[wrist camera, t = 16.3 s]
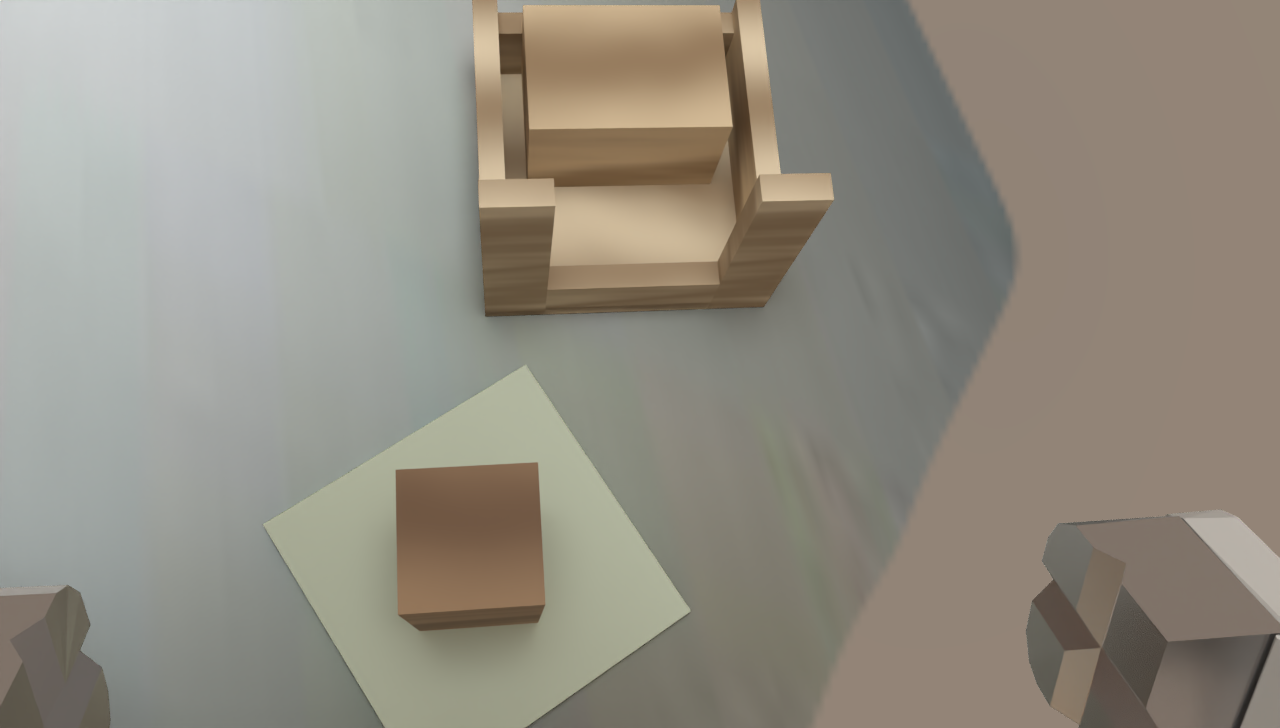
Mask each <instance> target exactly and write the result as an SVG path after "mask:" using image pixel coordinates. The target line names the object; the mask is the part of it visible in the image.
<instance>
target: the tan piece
mask: <svg viewBox="0 0 1280 728" xmlns="http://www.w3.org/2000/svg"><path fill="white" fill-rule="evenodd" d="M472 5H473V31H474V57H475V82H476V108H477V134H478V159H479V180H478V192H479V214H480V232H481V249H482V266H483V283H484V300H485V316H511V315H540V314H569V313H598V312H627V311H655V310H684V309H713V308H742V307H764V306H765V304H766V303H767V301H768V300H769V298H770V297H771V295H772V293H773V292H774V290H775V289H776V287H777V286H778V284H779V283H780V281H781V280H782V278H783V277H784V275H785V274H786V272H787V271H788V269H789V268H790V266H791V265H792V263H793V262H794V260H795V258H796V257H797V255H798V254H799V252H800V251H801V249H802V248H803V246H804V245H805V243H806V242H807V240H808V239H809V237H810V236H811V234H812V233H813V231H814V230H815V228H816V227H817V225H818V223H819V222H820V220H821V219H822V217H823V216H824V214H825V213H826V211H827V210H828V208H829V207H830V205H831V204H832V202H833V201H834V196H833V188H832V181H831V173H810V174H781V173H780V164H779V156H778V148H777V139H776V131H775V123H774V114H773V106H772V98H771V89H770V81H769V73H768V65H767V56H766V48H765V40H764V31H763V23H762V15H761V6H760V0H736V1H735V4H734V8H733V11H732V13H720V5H523V13H498V11H497V0H472Z"/></svg>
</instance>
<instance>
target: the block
mask: <svg viewBox="0 0 1280 728" xmlns="http://www.w3.org/2000/svg"><path fill="white" fill-rule="evenodd" d="M395 471H396V534H397V598H398V615H399V616H400V617H401V618H403V619H404V620H405V621H407V622H408V623H409V624H411V625H412V626H413V627H415V628H416V629H418V630H419V631H430V630H444V629H458V628H472V627H486V626H500V625H514V624H528V623H538V621H539V619H540V617H541V614H542V612H543V609H544V607H545V587H544V568H543V548H542V529H541V510H540V490H539V471H538V462H533V463H514V464H495V465H476V466H457V467H438V468H419V469H400V470H395Z"/></svg>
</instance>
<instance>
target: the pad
mask: <svg viewBox="0 0 1280 728" xmlns="http://www.w3.org/2000/svg"><path fill="white" fill-rule="evenodd" d="M533 462H538V471H539V490H540V510H541V529H542V548H543V568H544V587H545V607H544V609H543V612H542V614H541V617H540V619H539V621H538V623H528V624H514V625H500V626H486V627H472V628H458V629H444V630H430V631H419V630H418V629H416V628H415V627H413V626H412V625H411V624H409V623H408V622H407V621H405V620H404V619H403V618H401V617H400V616H399V615H398V598H397V534H396V471H395V470H400V469H419V468H438V467H457V466H476V465H495V464H514V463H533ZM263 526H264V527H265V529H266V531H267V532H268V534H269V536H270V537H271V539H272V541H273V542H274V544H275V546H276V547H277V549H278V551H279V552H280V554H281V556H282V557H283V559H284V561H285V562H286V564H287V566H288V567H289V569H290V571H291V572H292V574H293V576H294V577H295V579H296V581H297V582H298V584H299V586H300V587H301V589H302V591H303V592H304V594H305V596H306V597H307V599H308V601H309V602H310V604H311V606H312V607H313V609H314V611H315V612H316V614H317V616H318V617H319V619H320V621H321V622H322V624H323V626H324V627H325V629H326V631H327V632H328V634H329V636H330V637H331V639H332V641H333V642H334V644H335V646H336V647H337V649H338V651H339V652H340V654H341V656H342V657H343V659H344V660H345V662H346V664H347V665H348V667H349V669H350V670H351V672H352V674H353V675H354V677H355V679H356V680H357V682H358V684H359V685H360V687H361V689H362V690H363V692H364V694H365V695H366V697H367V699H368V700H369V702H370V704H371V705H372V707H373V709H374V710H375V712H376V714H377V715H378V717H379V719H380V720H381V722H382V724H383V725H384V727H385V728H526V727H527V726H528V725H530V724H531V723H533V722H534V721H535V720H537V719H538V718H540V717H541V716H543V715H544V714H545V713H547V712H548V711H550V710H551V709H553V708H554V707H555V706H557V705H558V704H560V703H561V702H562V701H564V700H565V699H567V698H568V697H570V696H571V695H572V694H574V693H575V692H577V691H578V690H580V689H581V688H582V687H584V686H585V685H587V684H588V683H590V682H591V681H592V680H594V679H595V678H597V677H598V676H599V675H601V674H602V673H604V672H605V671H607V670H608V669H609V668H611V667H612V666H614V665H615V664H617V663H618V662H619V661H621V660H622V659H624V658H625V657H626V656H628V655H629V654H631V653H632V652H634V651H635V650H636V649H638V648H639V647H641V646H642V645H644V644H645V643H646V642H648V641H649V640H651V639H652V638H653V637H655V636H656V635H658V634H659V633H661V632H662V631H663V630H665V629H666V628H668V627H669V626H671V625H672V624H673V623H675V622H676V621H678V620H679V619H680V618H682V617H683V616H685V615H686V614H688V613H689V612H690V611H691V610H690V609H689V607H688V606H687V604H686V603H685V602H684V600H683V599H682V597H681V596H680V594H679V593H678V591H677V590H676V588H675V587H674V585H673V584H672V582H671V581H670V579H669V578H668V576H667V575H666V573H665V572H664V570H663V569H662V567H661V566H660V564H659V563H658V561H657V560H656V558H655V557H654V555H653V554H652V552H651V551H650V549H649V548H648V546H647V545H646V543H645V542H644V540H643V539H642V537H641V536H640V534H639V533H638V531H637V530H636V528H635V527H634V525H633V524H632V522H631V521H630V519H629V518H628V516H627V515H626V513H625V512H624V510H623V509H622V508H621V506H620V505H619V503H618V502H617V500H616V499H615V497H614V496H613V494H612V493H611V491H610V490H609V488H608V487H607V485H606V484H605V482H604V481H603V479H602V478H601V476H600V475H599V473H598V472H597V470H596V469H595V467H594V466H593V464H592V463H591V461H590V460H589V458H588V457H587V455H586V454H585V452H584V451H583V449H582V448H581V446H580V445H579V443H578V442H577V440H576V439H575V437H574V436H573V434H572V433H571V431H570V430H569V428H568V427H567V425H566V424H565V422H564V421H563V419H562V418H561V416H560V415H559V414H558V412H557V411H556V409H555V408H554V406H553V405H552V403H551V402H550V400H549V399H548V397H547V396H546V394H545V393H544V391H543V390H542V388H541V387H540V385H539V384H538V382H537V381H536V379H535V378H534V376H533V375H532V373H531V372H530V370H529V369H528V367H527V366H526V365H524V366H523V367H521V368H519V369H518V370H516V371H514V372H513V373H511V374H509V375H508V376H506V377H504V378H503V379H501V380H500V381H498V382H496V383H495V384H493V385H491V386H490V387H488V388H486V389H485V390H483V391H481V392H480V393H478V394H476V395H475V396H473V397H472V398H470V399H468V400H467V401H465V402H463V403H462V404H460V405H458V406H457V407H455V408H453V409H452V410H450V411H449V412H447V413H445V414H444V415H442V416H440V417H439V418H437V419H435V420H434V421H432V422H430V423H429V424H427V425H426V426H424V427H422V428H421V429H419V430H417V431H416V432H414V433H412V434H411V435H409V436H407V437H406V438H404V439H402V440H401V441H399V442H398V443H396V444H394V445H393V446H391V447H389V448H388V449H386V450H384V451H383V452H381V453H379V454H378V455H376V456H375V457H373V458H371V459H370V460H368V461H366V462H365V463H363V464H361V465H360V466H358V467H356V468H355V469H353V470H351V471H350V472H348V473H347V474H345V475H343V476H342V477H340V478H338V479H337V480H335V481H333V482H332V483H330V484H328V485H327V486H325V487H324V488H322V489H320V490H319V491H317V492H315V493H314V494H312V495H310V496H309V497H307V498H305V499H304V500H302V501H300V502H299V503H297V504H296V505H294V506H292V507H291V508H289V509H287V510H286V511H284V512H282V513H281V514H279V515H277V516H276V517H274V518H273V519H271V520H269V521H268V522H266V523H264V524H263Z"/></svg>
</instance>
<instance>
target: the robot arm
mask: <svg viewBox="0 0 1280 728" xmlns="http://www.w3.org/2000/svg"><path fill="white" fill-rule="evenodd" d="M1042 562H1043V563H1044V565H1045V567H1046V568H1047V570H1048V571H1049V573H1050V575H1051V576H1052V578H1053V580H1052V581H1051V583H1049V584H1048V586H1047V587H1045V588H1044V589H1043V590H1042V591H1041V592H1040V593H1039V594H1038V595H1037V596H1036V597H1035V598H1034V599H1033V601H1032V605H1031V609H1030V614H1029V619H1028V624H1027V629H1026V635H1027V644H1028V655H1029V662H1030V665H1031V668H1032V671H1033V674H1034V677H1035V680H1036V682H1037V685H1038V687H1039V688H1040V690H1041V692H1042V693H1043V695H1044V697H1045V699H1046V700H1047V702H1048V703H1049V705H1050V707H1052V708H1053V709H1055V710H1057V711H1058V712H1060V713H1061V714H1063V715H1064V716H1066V717H1068V718H1069V719H1071V720H1072V721H1074V722H1076V723H1077V724H1079V727H1078V728H1280V558H1279V557H1278V556H1277V555H1276V554H1275V553H1274V552H1273V551H1272V550H1271V549H1270V548H1269V547H1267V545H1266V544H1265V543H1264V542H1263V541H1262V540H1261V539H1260V538H1259V537H1257V536H1256V535H1255V534H1254V533H1253V532H1252V531H1251V530H1250V529H1249V528H1248V527H1247V526H1246V525H1245V524H1244V523H1243V522H1242V521H1241V520H1240V519H1239V518H1238V517H1236V516H1234V515H1232V514H1230V513H1227V512H1225V511H1223V510H1210V511H1199V512H1188V513H1177V514H1167V515H1166V516H1164V517H1146V518H1134V519H1133V518H1132V519H1118V520H1103V521H1088V522H1073V523H1059V524H1058V525H1057V526H1056V528H1055V529H1054V530H1053V532H1052V533H1051V535H1050V536H1049V537H1048V540H1047V544H1046V548H1045V551H1044V555H1043V559H1042ZM89 627H90V622H89V619H88V616H87V613H86V610H85V606H84V603H83V600H82V597H81V594H80V592H78V591H77V590H75V589H74V588H72V587H70V586H69V585H57V586H34V587H10V588H0V728H109V727H110V709H109V696H108V689H107V685H106V681H105V677H104V673H103V669H102V667H100V666H99V665H98V664H96V663H95V662H94V661H93V660H91V659H90V658H89V657H87V656H86V655H85V654H83V653H82V652H81V651H80V648H81V646H82V644H83V641H84V639H85V637H86V634H87V632H88V630H89Z"/></svg>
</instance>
